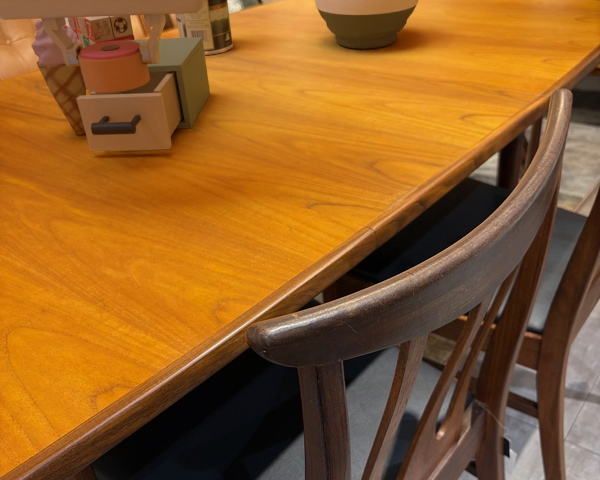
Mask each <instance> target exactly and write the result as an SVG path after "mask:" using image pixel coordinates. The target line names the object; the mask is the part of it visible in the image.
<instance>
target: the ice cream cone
mask: <svg viewBox="0 0 600 480" xmlns="http://www.w3.org/2000/svg"><path fill="white" fill-rule="evenodd" d="M34 27H35V30H36V33H35V36H34V41H33V42H32V43H31V48H32V50H33V52H34V55H35V56H36V57H38V60H37V61H36V65H37V67H38V69H39V71H40V73H41V75H42V77H43V79H44V81H45V84H46V86H47V87H48V89H49V91H50V93H51V95H52V97H53V98H54V100H55V103H56V104H57V105H58V107H59V109H60V111H61V113H62V114H63V115H64V117H65V119H66V120H67V122H68V124H69V126H70V128H71V129H72V130H73V132H74V133H75V135H76V136H83V135H86V132H85V129H84V125H83V121H82V118H81V114H80V110H79V107H78V103H77V98H78V97H79V96H82V95H87V88H86V87H85V83H84V79H83V75H82V71H81V67H80V66H72V67H71V66H66V64H65V61H64V57H63V54H62V50H61V49H60V48H59V47H58V46H57V45H56V44H55V42H54V41H53V40H52V39H51V38H50V37H49V35H48V34H47V33H46V32H45V31H44V27H43V24H42V20H41V19H38V20H37V21H36V22H35V23H34ZM63 29H64V28H63ZM64 31H65V32H66V33H67V35H68V36H69V37H70V39H71V40H72V41H73V43H74V44H81V41H80V40H78V39H77V34H76V33H75V32H74V31H73V30H72V28H71V27H68V28H66V29H64Z"/></svg>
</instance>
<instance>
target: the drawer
mask: <svg viewBox="0 0 600 480" xmlns="http://www.w3.org/2000/svg"><path fill="white" fill-rule="evenodd" d="M149 76H150V80H149V82H148V83H146V84H145V85H143V86H140V87H138V88H135V89H131V90H126V91H121V92H109V93H103V92H94V91H90V92H89V93H88V94H86V95H82V96H79V97H78V98H77V103H78V107H79V110H80V114H81V118H82V121H83V125H84V129H85V132H86V133H85V136H86V139H87V143H88V147H89V151H90V152H119V151H121V152H122V151H156V150H157V151H158V150H159V151H160V150H162V151H163V150H171V148H172V147H173V144H172V143H173V142H172V136H173V133H174V132H175V130H176V127H177V125H178V124H179V122H180V120H181V119H182V117H183V109H182V103H181V97H180V91H179V85H178V80H177V74H176V71H168V72H149Z"/></svg>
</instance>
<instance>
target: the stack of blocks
mask: <svg viewBox="0 0 600 480" xmlns="http://www.w3.org/2000/svg"><path fill="white" fill-rule="evenodd" d="M65 21H66V25H64V26H63V27H62V28H64V29H66V28H68V27H71V28H72V30H73V31H74V32H75V33H76V34H77V39H78V40H80V41H81V44H82V46H83V48H85V47H87V46H90V45H93V44H97V43H101V42H108V41H122V40H123V41H127V40H136V39H135V35H134V30H133V25H132V19H131V15H126V16H98V17H70V18H65Z"/></svg>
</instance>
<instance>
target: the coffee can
mask: <svg viewBox="0 0 600 480" xmlns="http://www.w3.org/2000/svg"><path fill="white" fill-rule="evenodd" d="M175 19H176V24H177V30H178V38H189V37H202V39H203V46H204V53H205V56H210V55H217V54H221V53H225V52H228V51H231V50H232V49H233V48H234V44H233V37H232V28H231V20H230V11H229V3H228V0H207V1H206V3H205V4H204V6H203V7H202V8H201V9H200V10H199V11H198V12H196V13H183V14H175Z"/></svg>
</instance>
